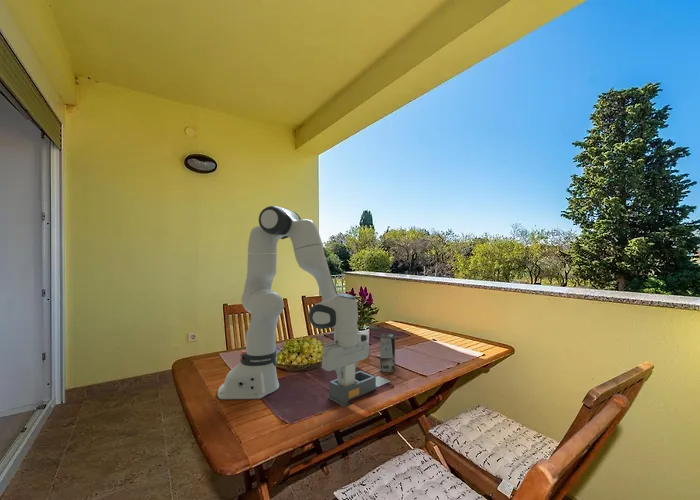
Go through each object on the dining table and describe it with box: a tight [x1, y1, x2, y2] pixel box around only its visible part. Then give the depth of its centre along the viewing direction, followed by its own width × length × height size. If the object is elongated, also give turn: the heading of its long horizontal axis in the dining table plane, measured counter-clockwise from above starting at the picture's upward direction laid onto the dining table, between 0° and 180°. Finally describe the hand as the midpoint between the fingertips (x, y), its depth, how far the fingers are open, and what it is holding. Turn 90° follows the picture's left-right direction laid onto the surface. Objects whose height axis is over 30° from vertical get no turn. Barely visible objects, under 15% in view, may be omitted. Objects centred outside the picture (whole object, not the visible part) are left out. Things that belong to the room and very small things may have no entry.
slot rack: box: [327, 370, 391, 408], centre depth 114 cm, size 26×9×6 cm, turn 133°
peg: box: [337, 363, 356, 387], centre depth 109 cm, size 4×4×8 cm
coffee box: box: [379, 332, 396, 373], centre depth 135 cm, size 9×6×16 cm
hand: (346, 376), depth 109 cm, fingers closed on peg, 4 cm apart
